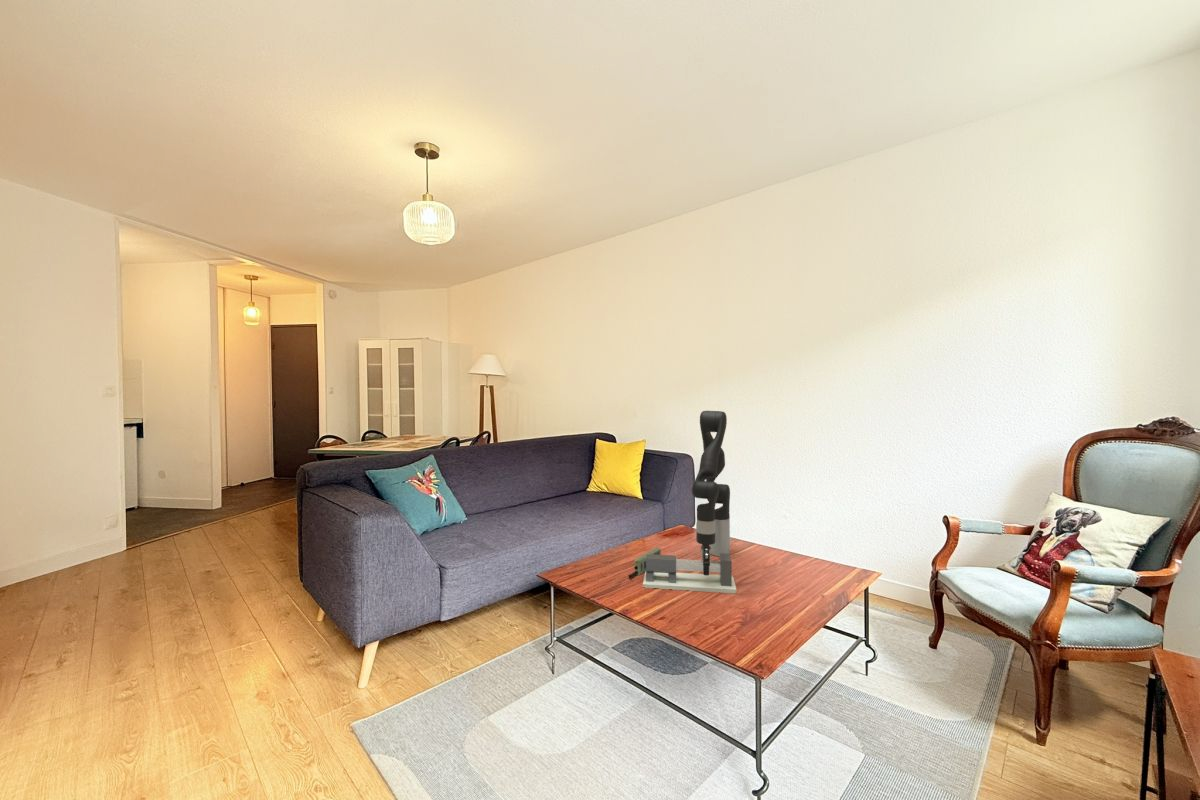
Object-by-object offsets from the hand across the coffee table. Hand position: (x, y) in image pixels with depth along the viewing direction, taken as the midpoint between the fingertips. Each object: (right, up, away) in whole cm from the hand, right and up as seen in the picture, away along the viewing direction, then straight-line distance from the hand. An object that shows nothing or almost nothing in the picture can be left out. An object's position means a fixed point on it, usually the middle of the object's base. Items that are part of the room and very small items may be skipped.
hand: (706, 572), depth 192 cm
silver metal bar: (-4, +1, +1) cm, 4 cm away
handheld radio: (-23, -5, +17) cm, 29 cm away
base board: (-7, -5, +1) cm, 8 cm away
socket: (+8, -3, -1) cm, 8 cm away
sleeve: (-18, -3, +3) cm, 18 cm away
